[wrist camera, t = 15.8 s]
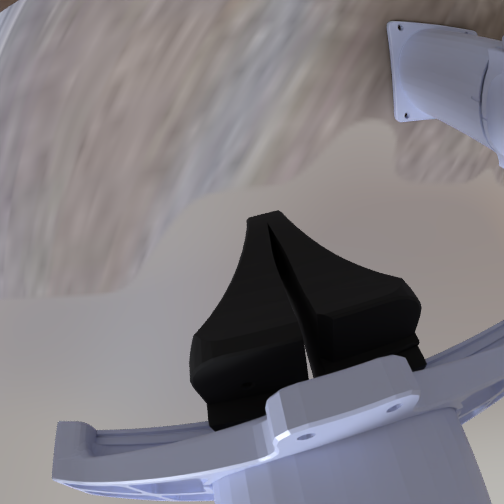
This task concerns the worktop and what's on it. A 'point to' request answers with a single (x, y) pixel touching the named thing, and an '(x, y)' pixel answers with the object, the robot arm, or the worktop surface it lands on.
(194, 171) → the worktop surface
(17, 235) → the worktop surface
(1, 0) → the walnut domino
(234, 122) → the worktop surface
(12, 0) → the walnut domino
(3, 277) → the worktop surface
